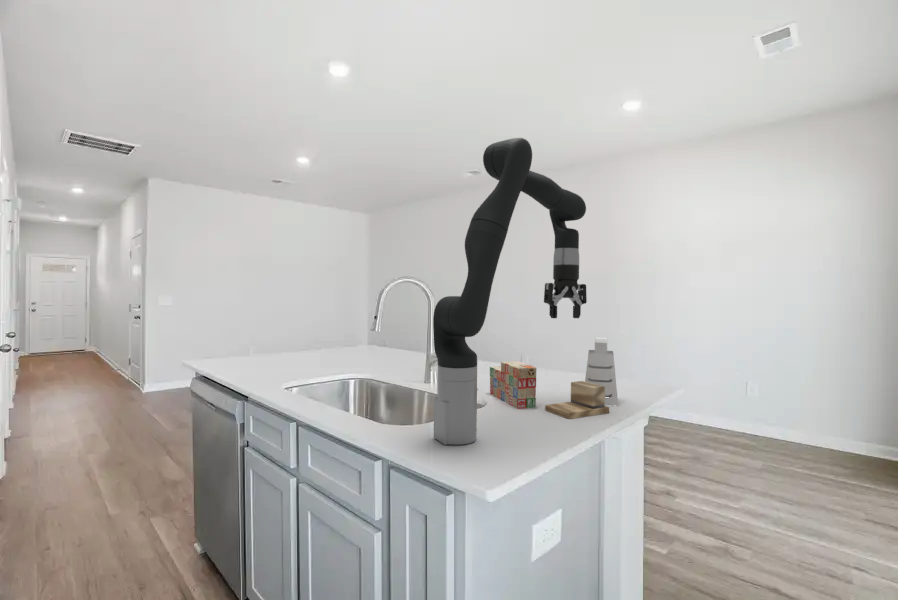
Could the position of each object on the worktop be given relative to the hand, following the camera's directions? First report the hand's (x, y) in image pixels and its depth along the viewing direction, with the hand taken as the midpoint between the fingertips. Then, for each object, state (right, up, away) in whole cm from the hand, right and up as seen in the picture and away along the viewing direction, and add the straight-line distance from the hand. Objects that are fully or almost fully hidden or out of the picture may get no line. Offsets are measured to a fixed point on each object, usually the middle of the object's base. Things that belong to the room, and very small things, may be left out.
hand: (565, 318), depth 139 cm
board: (+2, -27, -5) cm, 27 cm away
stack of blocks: (-15, -27, +9) cm, 32 cm away
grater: (+13, -27, +8) cm, 31 cm away
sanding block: (+6, -25, -4) cm, 26 cm away
